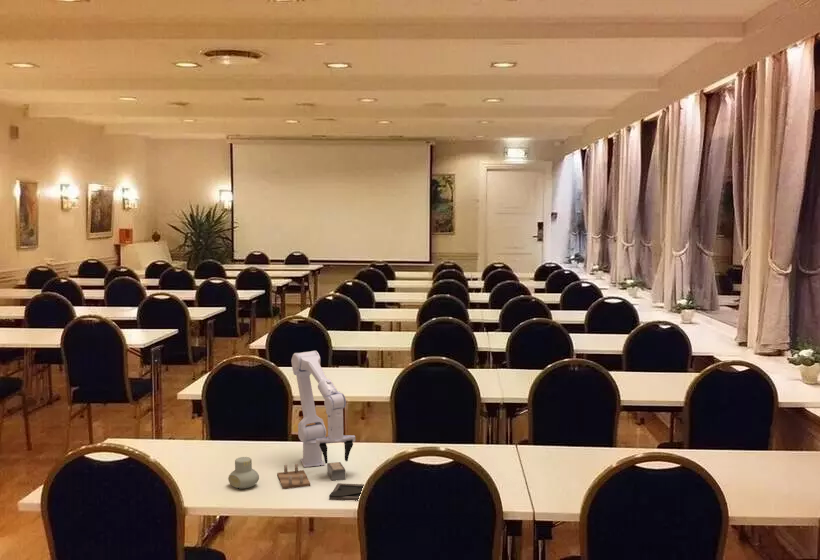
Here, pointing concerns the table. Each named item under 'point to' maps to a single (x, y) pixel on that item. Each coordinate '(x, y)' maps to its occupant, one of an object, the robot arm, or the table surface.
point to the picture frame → (346, 492)
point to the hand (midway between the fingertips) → (336, 461)
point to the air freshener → (243, 474)
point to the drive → (336, 471)
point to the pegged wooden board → (293, 478)
